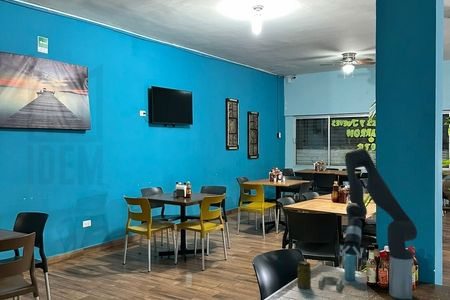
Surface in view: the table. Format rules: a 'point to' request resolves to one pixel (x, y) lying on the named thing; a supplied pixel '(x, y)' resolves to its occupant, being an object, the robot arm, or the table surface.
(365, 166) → the robot arm
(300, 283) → the condiment
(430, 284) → the table surface
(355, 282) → the mat
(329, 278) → the holder
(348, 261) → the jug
